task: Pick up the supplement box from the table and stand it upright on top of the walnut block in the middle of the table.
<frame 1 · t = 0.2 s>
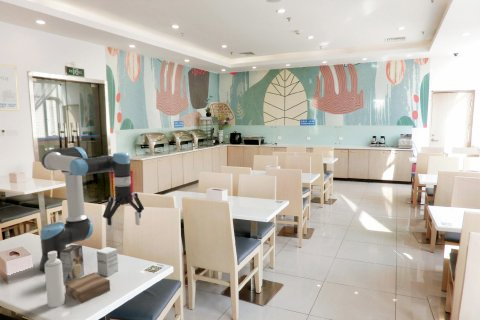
hand: (125, 228, 167), 27 cm above the table, tool pointing down, fingers open, 13 cm apart
white bottle: (56, 303, 151), on the table
walnut block: (88, 292, 160), on the table
supplement box: (108, 273, 180), on the table
coffee box: (73, 278, 175), on the table
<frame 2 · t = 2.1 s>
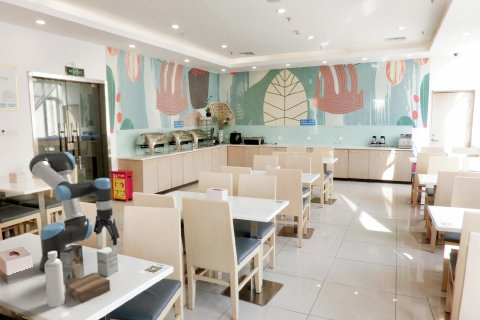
hand: (107, 248, 178), 13 cm above the table, tool pointing down, fingers open, 13 cm apart
nothing on the table moved.
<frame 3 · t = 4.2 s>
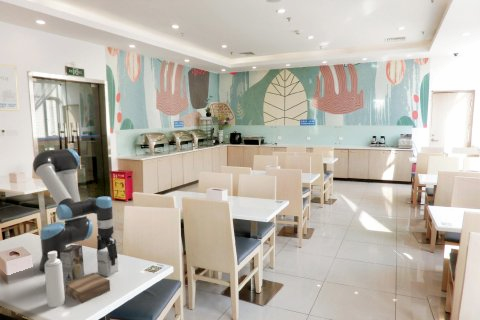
hand: (108, 268, 180), 2 cm above the table, tool pointing down, fingers closed on supplement box, 8 cm apart
supplement box: (108, 273, 180), on the table, touching gripper
everything else where it was.
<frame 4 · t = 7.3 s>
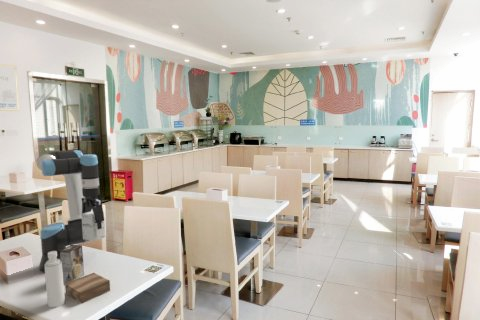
hand: (93, 233, 165), 26 cm above the table, tool pointing down, fingers closed on supplement box, 8 cm apart
supplement box: (94, 238, 165), point 23 cm above the table, touching gripper
everything else where it was.
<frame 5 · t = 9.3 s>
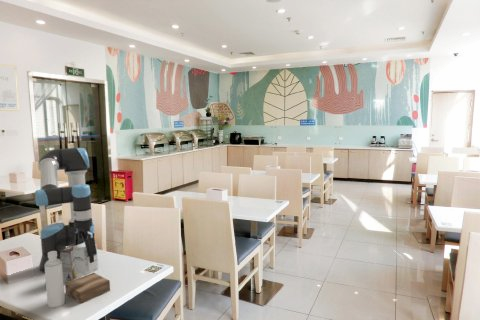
hand: (86, 266, 159), 13 cm above the table, tool pointing down, fingers closed on supplement box, 8 cm apart
supplement box: (86, 271, 159), point 10 cm above the table, touching gripper
everything else where it was.
when the fingers open (9 cm above the table, at t = 10.9 s): supplement box drops 1 cm, resting on walnut block.
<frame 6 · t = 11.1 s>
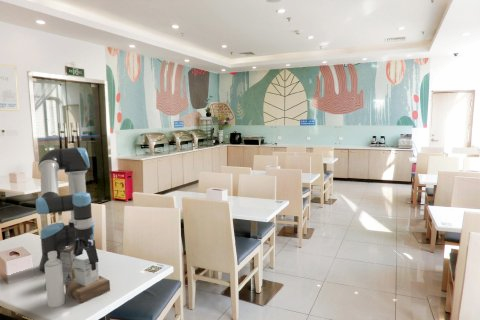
hand: (86, 273, 159), 9 cm above the table, tool pointing down, fingers open, 10 cm apart
supplement box: (87, 282, 160), point 5 cm above the table, touching walnut block
everything else where it was.
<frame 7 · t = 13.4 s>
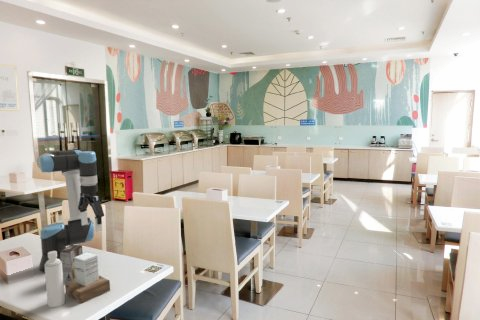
hand: (91, 227, 165), 28 cm above the table, tool pointing down, fingers open, 13 cm apart
nothing on the table moved.
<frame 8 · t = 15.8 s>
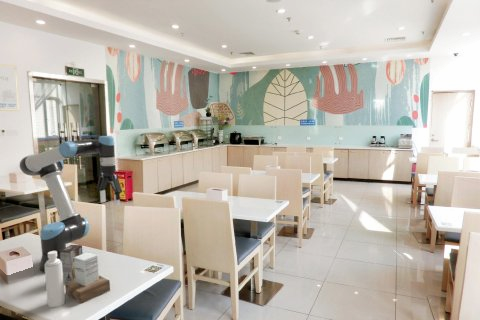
hand: (110, 204, 185), 35 cm above the table, tool pointing down, fingers open, 13 cm apart
nothing on the table moved.
at the end: supplement box inside the target area on the walnut block (0.2 cm from its centre), point 4.8 cm above the walnut block's base; supplement box tilted 0°; the gripper is holding nothing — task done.
